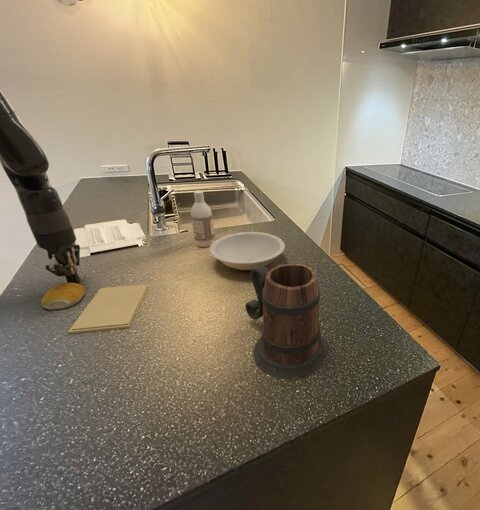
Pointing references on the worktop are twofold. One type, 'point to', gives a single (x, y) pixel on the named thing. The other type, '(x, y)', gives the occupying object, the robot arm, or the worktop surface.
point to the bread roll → (63, 296)
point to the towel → (111, 309)
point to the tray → (108, 236)
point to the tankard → (287, 320)
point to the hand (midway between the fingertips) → (75, 284)
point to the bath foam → (202, 221)
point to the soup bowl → (247, 249)
